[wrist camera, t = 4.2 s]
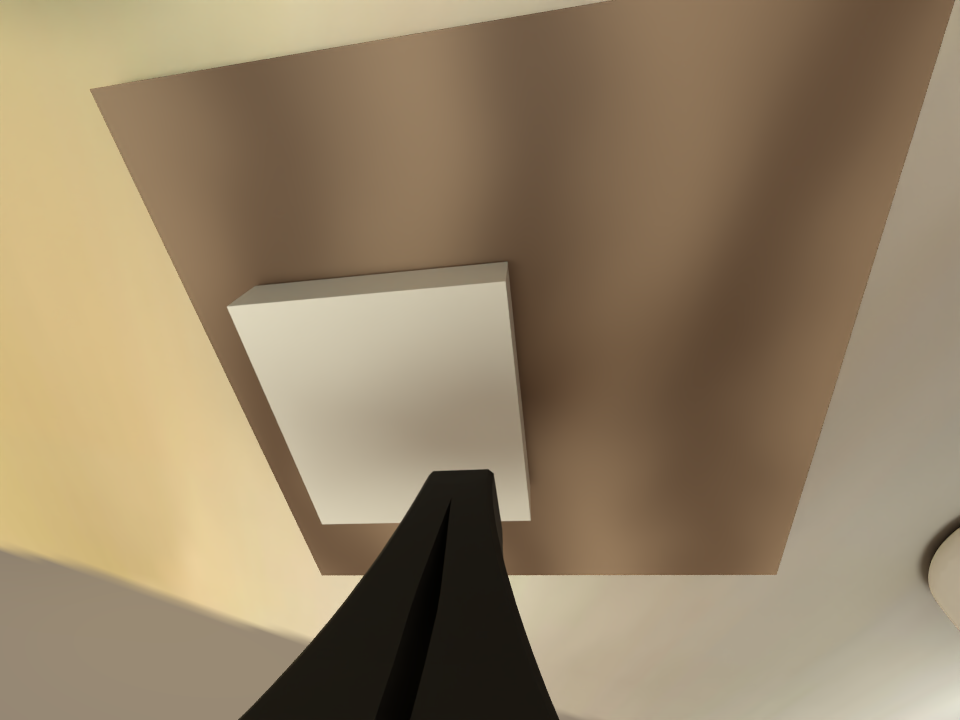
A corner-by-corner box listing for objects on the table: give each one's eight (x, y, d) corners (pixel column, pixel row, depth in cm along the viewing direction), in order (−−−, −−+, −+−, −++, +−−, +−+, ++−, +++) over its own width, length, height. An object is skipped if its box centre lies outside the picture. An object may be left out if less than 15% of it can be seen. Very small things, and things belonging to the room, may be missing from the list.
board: (931, -47, 9) (974, -62, 8) (764, 551, 18) (776, 574, 17) (122, 89, 11) (89, 89, 11) (330, 554, 20) (321, 575, 20)
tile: (505, 281, 10) (226, 306, 11) (530, 520, 14) (322, 524, 15) (507, 259, 12) (257, 284, 13) (530, 484, 16) (338, 489, 17)
